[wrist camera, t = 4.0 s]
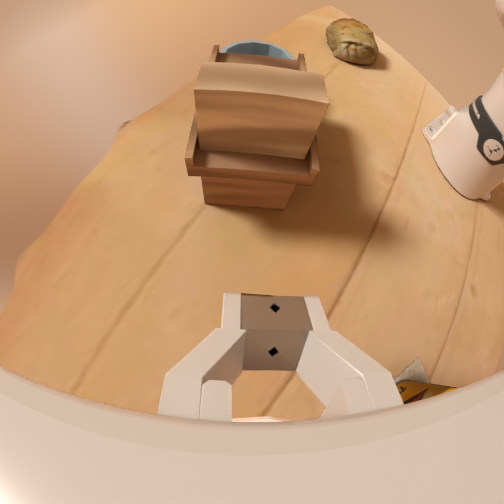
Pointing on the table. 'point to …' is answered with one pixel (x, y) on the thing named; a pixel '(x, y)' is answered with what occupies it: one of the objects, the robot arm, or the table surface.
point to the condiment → (417, 384)
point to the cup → (257, 49)
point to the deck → (250, 158)
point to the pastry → (352, 41)
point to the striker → (258, 109)
